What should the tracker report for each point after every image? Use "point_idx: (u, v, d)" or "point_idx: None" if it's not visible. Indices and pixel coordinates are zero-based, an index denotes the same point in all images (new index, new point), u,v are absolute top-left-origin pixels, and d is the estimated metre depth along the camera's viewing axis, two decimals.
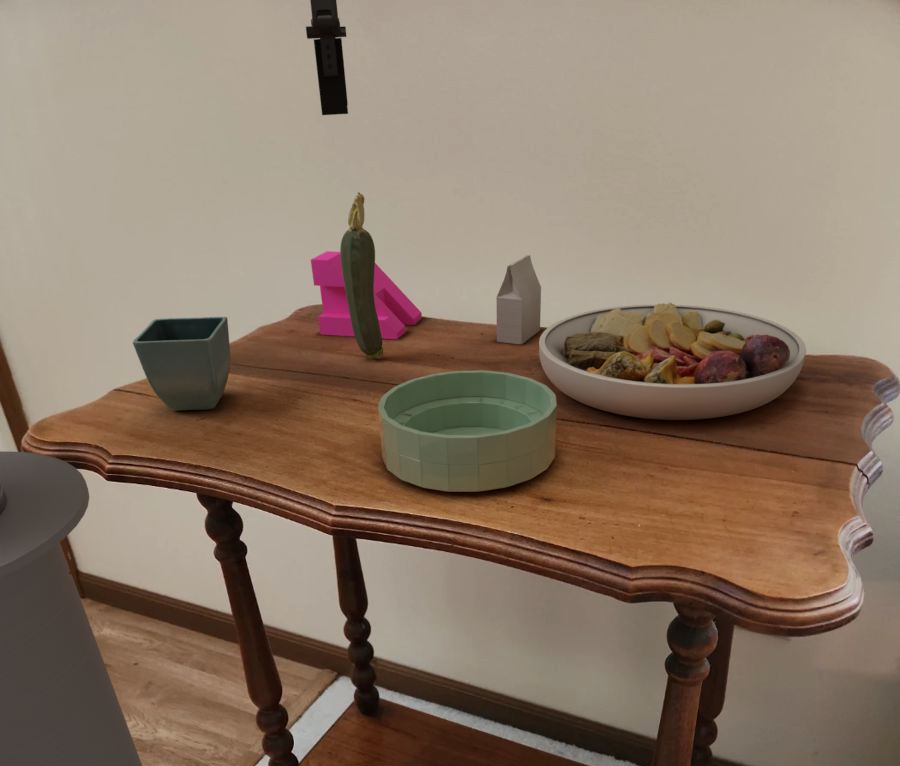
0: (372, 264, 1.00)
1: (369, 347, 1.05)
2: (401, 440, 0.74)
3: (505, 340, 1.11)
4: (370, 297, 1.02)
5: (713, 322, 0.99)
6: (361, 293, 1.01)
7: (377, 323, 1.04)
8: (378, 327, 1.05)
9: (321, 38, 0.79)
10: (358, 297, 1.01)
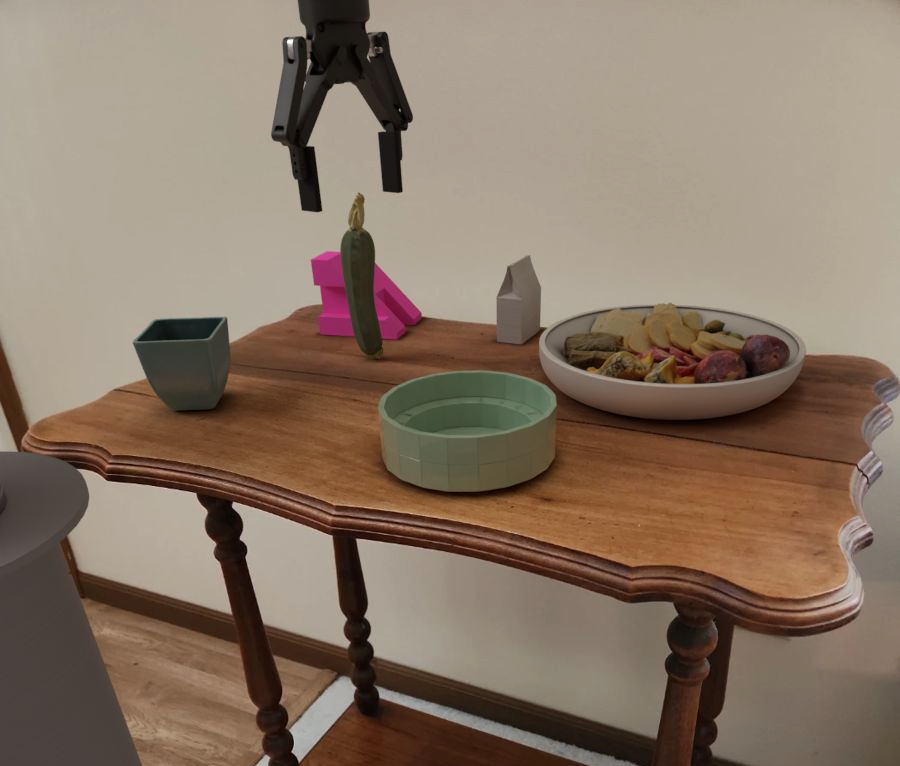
0: (372, 264, 1.00)
1: (369, 347, 1.05)
2: (401, 440, 0.74)
3: (505, 340, 1.11)
4: (370, 297, 1.02)
5: (713, 322, 0.99)
6: (361, 293, 1.01)
7: (377, 323, 1.04)
8: (378, 327, 1.05)
9: (289, 147, 0.88)
10: (358, 297, 1.01)
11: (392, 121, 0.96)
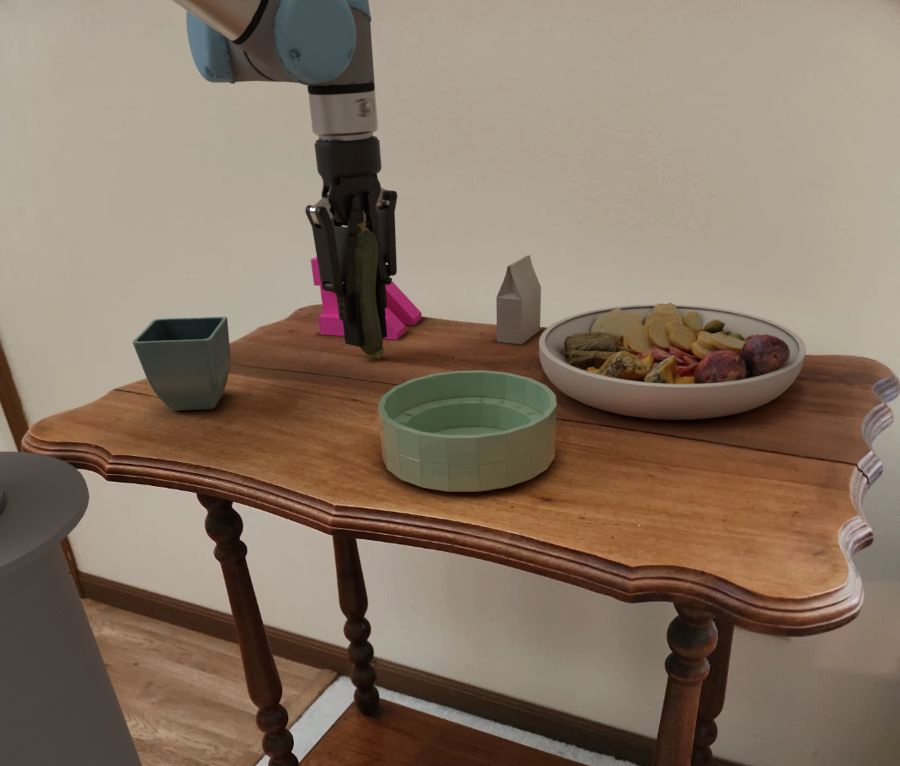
0: (374, 263, 1.00)
1: (369, 346, 1.05)
2: (401, 440, 0.74)
3: (505, 340, 1.11)
4: (372, 296, 1.02)
5: (713, 322, 0.99)
6: (363, 292, 1.01)
7: (378, 322, 1.04)
8: (379, 326, 1.05)
9: (336, 294, 1.01)
10: (360, 296, 1.01)
11: (379, 272, 1.03)
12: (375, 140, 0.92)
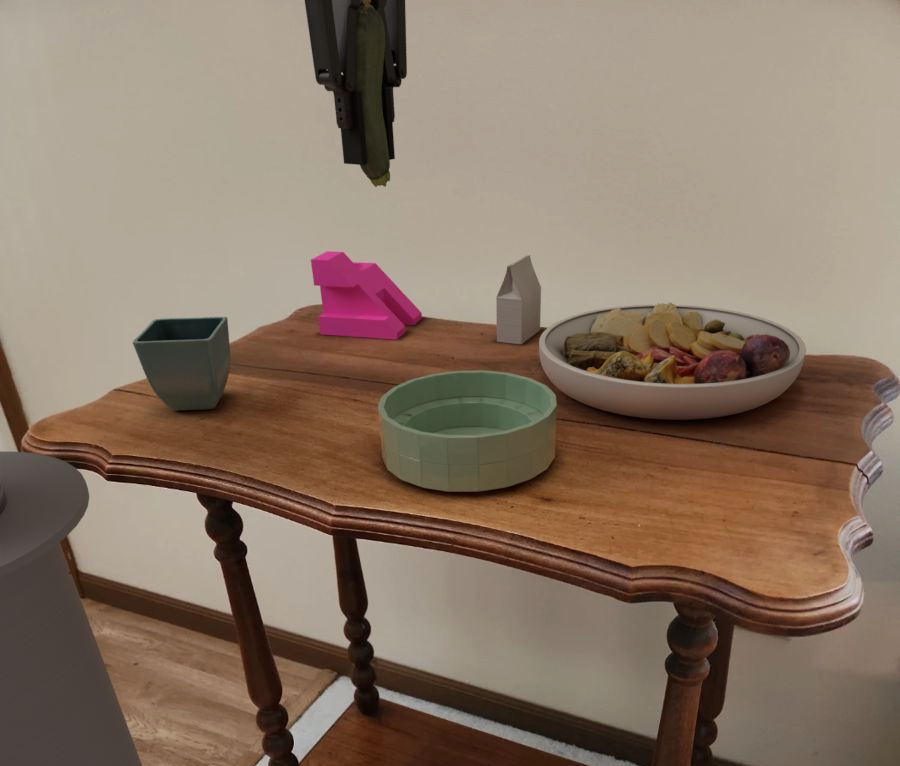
0: (381, 52, 0.81)
1: (374, 166, 0.86)
2: (401, 440, 0.74)
3: (505, 340, 1.11)
4: (378, 98, 0.83)
5: (713, 322, 0.99)
6: (366, 90, 0.82)
7: (384, 135, 0.85)
8: (385, 141, 0.85)
9: (334, 92, 0.81)
10: (362, 95, 0.82)
11: (385, 69, 0.83)
12: None
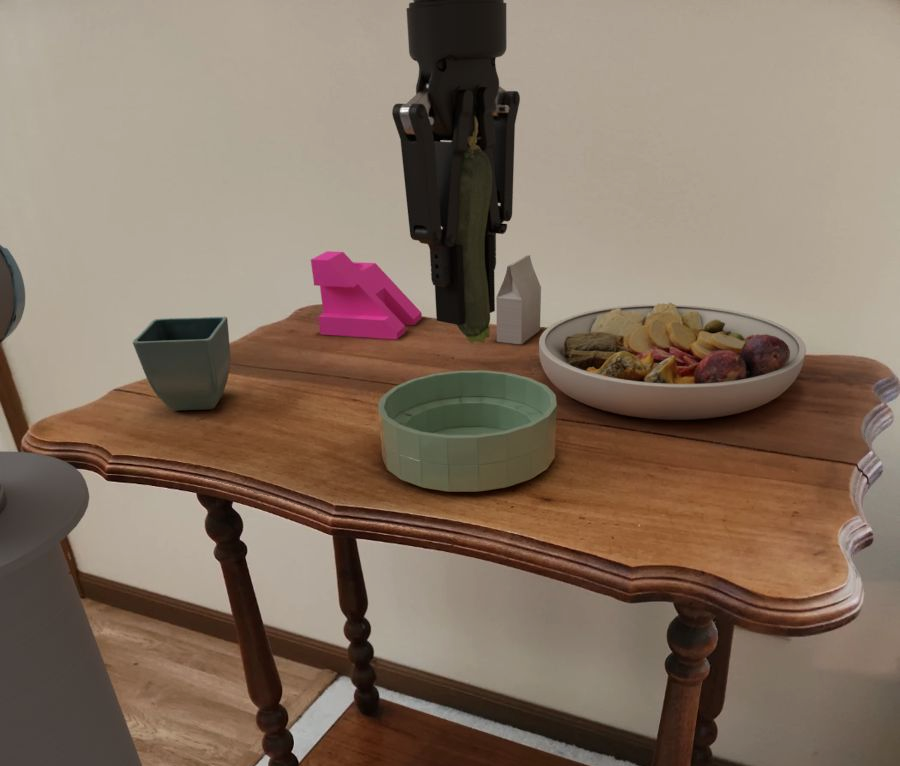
0: (487, 199, 0.68)
1: (473, 324, 0.72)
2: (401, 440, 0.74)
3: (505, 340, 1.11)
4: (481, 250, 0.70)
5: (713, 322, 0.99)
6: (468, 242, 0.68)
7: (486, 289, 0.72)
8: (487, 295, 0.72)
9: (430, 246, 0.68)
10: (464, 248, 0.69)
11: (489, 214, 0.70)
12: (502, 0, 0.60)
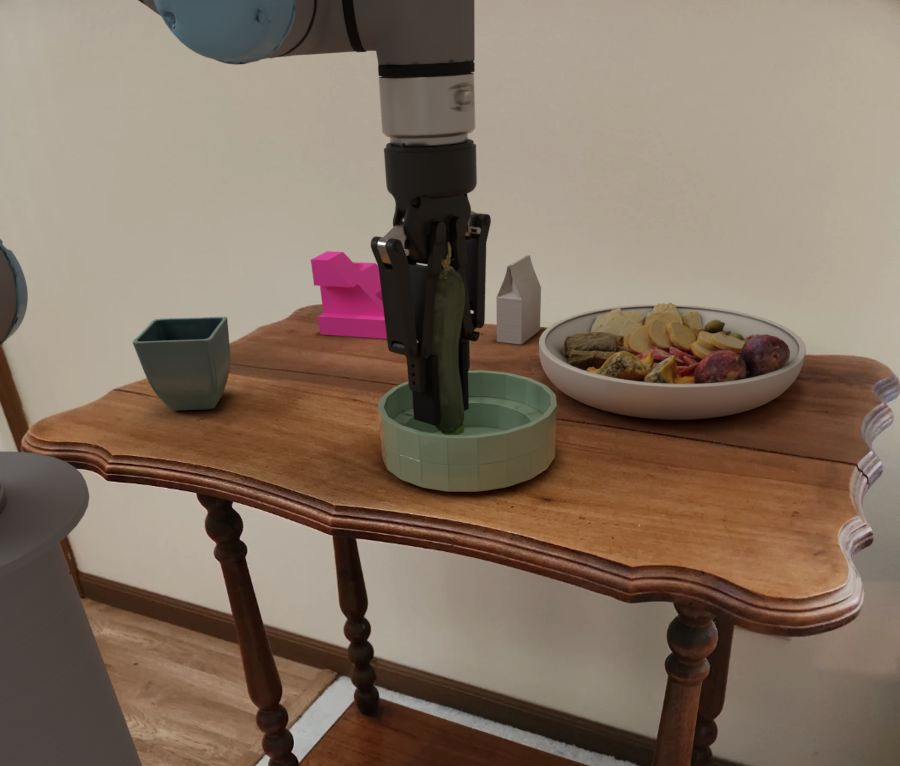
0: (460, 314, 0.73)
1: (448, 423, 0.77)
2: (401, 440, 0.74)
3: (505, 340, 1.11)
4: (454, 358, 0.75)
5: (713, 322, 0.99)
6: (443, 353, 0.73)
7: (460, 392, 0.77)
8: (461, 397, 0.77)
9: (407, 357, 0.73)
10: (439, 358, 0.74)
11: (463, 324, 0.75)
12: (472, 144, 0.65)
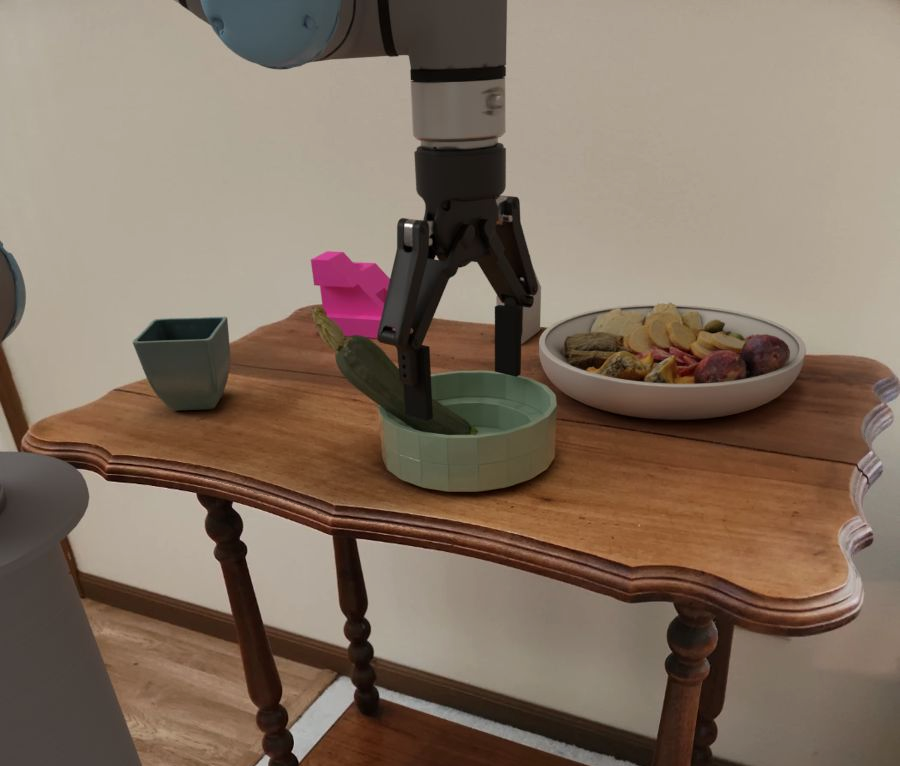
0: (385, 361, 0.75)
1: None
2: (401, 440, 0.74)
3: None
4: None
5: (713, 322, 0.99)
6: (401, 399, 0.76)
7: (444, 409, 0.78)
8: (449, 412, 0.78)
9: (397, 348, 0.69)
10: (402, 406, 0.76)
11: (515, 297, 0.77)
12: (502, 148, 0.65)
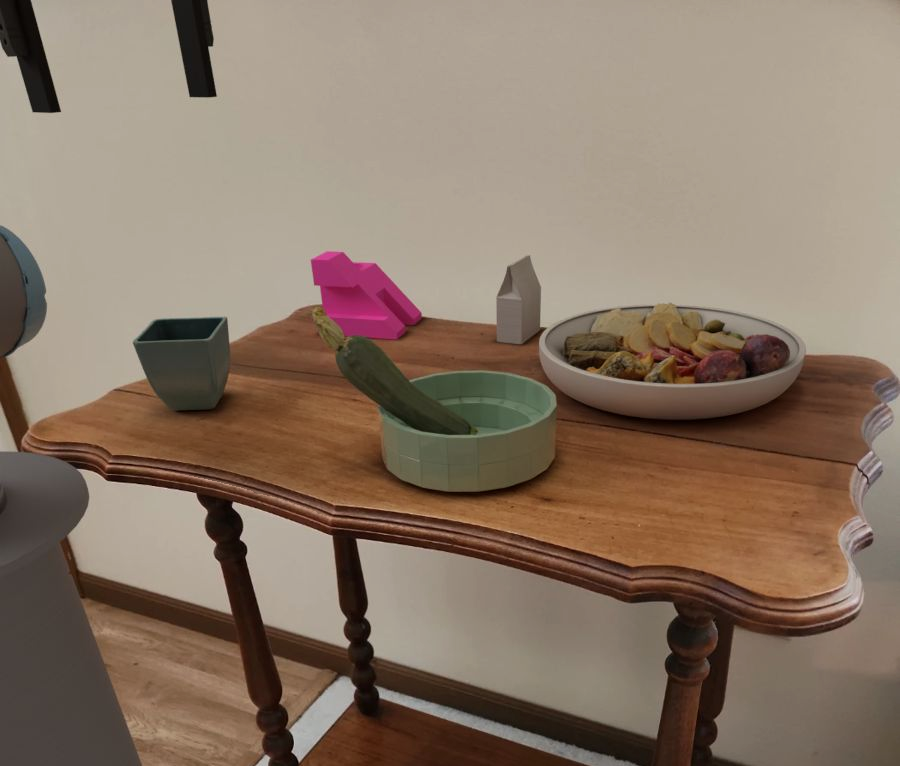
0: (385, 361, 0.75)
1: None
2: (401, 440, 0.74)
3: (505, 340, 1.11)
4: (414, 392, 0.77)
5: (713, 322, 0.99)
6: (401, 399, 0.76)
7: (444, 409, 0.78)
8: (449, 412, 0.78)
9: None
10: (402, 406, 0.76)
11: None
12: None
